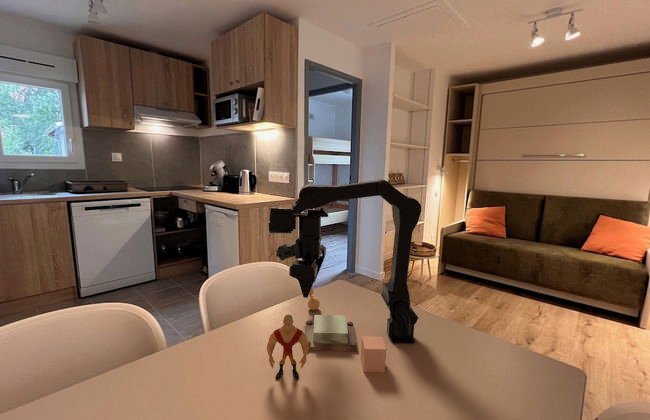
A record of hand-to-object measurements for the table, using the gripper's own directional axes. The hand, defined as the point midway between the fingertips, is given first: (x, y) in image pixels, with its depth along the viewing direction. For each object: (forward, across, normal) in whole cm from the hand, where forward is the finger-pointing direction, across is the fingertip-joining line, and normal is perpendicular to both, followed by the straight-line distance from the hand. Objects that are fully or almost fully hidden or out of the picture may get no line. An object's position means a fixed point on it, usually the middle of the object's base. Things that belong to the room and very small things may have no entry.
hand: (309, 289), depth 80 cm
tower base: (+14, -1, +6) cm, 15 cm away
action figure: (+14, +15, -2) cm, 21 cm away
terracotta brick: (+14, +8, +17) cm, 24 cm away
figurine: (+14, -15, -3) cm, 21 cm away
